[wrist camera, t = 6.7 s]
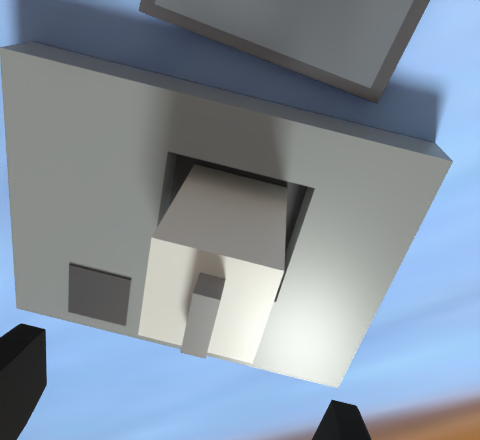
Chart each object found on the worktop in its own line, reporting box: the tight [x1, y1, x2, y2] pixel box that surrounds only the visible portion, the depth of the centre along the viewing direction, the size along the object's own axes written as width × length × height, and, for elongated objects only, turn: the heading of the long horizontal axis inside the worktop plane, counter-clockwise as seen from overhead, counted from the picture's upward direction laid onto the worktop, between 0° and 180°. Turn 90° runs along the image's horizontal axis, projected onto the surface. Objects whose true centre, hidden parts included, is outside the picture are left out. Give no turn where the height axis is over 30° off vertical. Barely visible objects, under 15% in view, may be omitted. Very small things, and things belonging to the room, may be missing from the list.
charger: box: [138, 164, 287, 364], centre depth 15 cm, size 4×4×7 cm
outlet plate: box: [0, 42, 453, 388], centre depth 18 cm, size 12×16×2 cm
